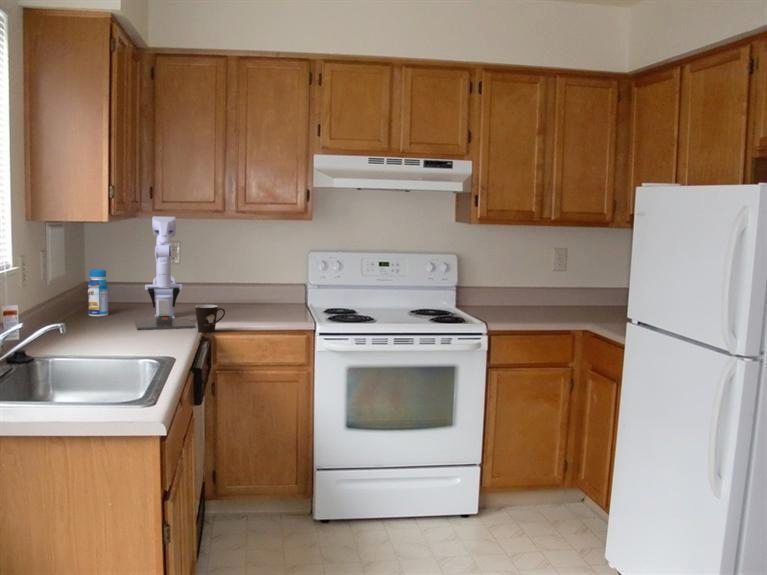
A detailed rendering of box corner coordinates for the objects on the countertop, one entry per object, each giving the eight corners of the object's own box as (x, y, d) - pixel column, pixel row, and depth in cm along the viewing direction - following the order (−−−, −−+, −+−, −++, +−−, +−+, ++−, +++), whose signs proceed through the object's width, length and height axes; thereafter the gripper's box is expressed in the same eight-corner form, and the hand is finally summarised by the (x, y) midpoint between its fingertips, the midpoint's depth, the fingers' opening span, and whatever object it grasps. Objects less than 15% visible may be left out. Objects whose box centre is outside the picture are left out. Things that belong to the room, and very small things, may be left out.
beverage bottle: (109, 316, 326) (108, 270, 324) (89, 317, 322) (88, 270, 320) (107, 313, 334) (107, 268, 331) (87, 314, 330) (86, 269, 328)
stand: (134, 321, 313) (134, 313, 312) (188, 320, 321) (188, 311, 320) (137, 330, 292) (137, 321, 292) (194, 328, 300) (194, 319, 300)
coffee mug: (195, 333, 288) (195, 307, 287) (195, 329, 296) (194, 304, 295) (226, 332, 291) (226, 307, 290) (224, 329, 299) (224, 304, 298)
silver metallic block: (158, 314, 307) (158, 299, 306) (168, 314, 308) (168, 299, 308) (159, 316, 304) (159, 300, 303) (169, 315, 305) (168, 300, 304)
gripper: (145, 275, 298) (145, 308, 299) (182, 274, 303) (183, 307, 304) (144, 273, 304) (144, 306, 306) (181, 273, 310) (181, 305, 311)
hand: (163, 307), depth 306 cm, fingers open, 7 cm apart
